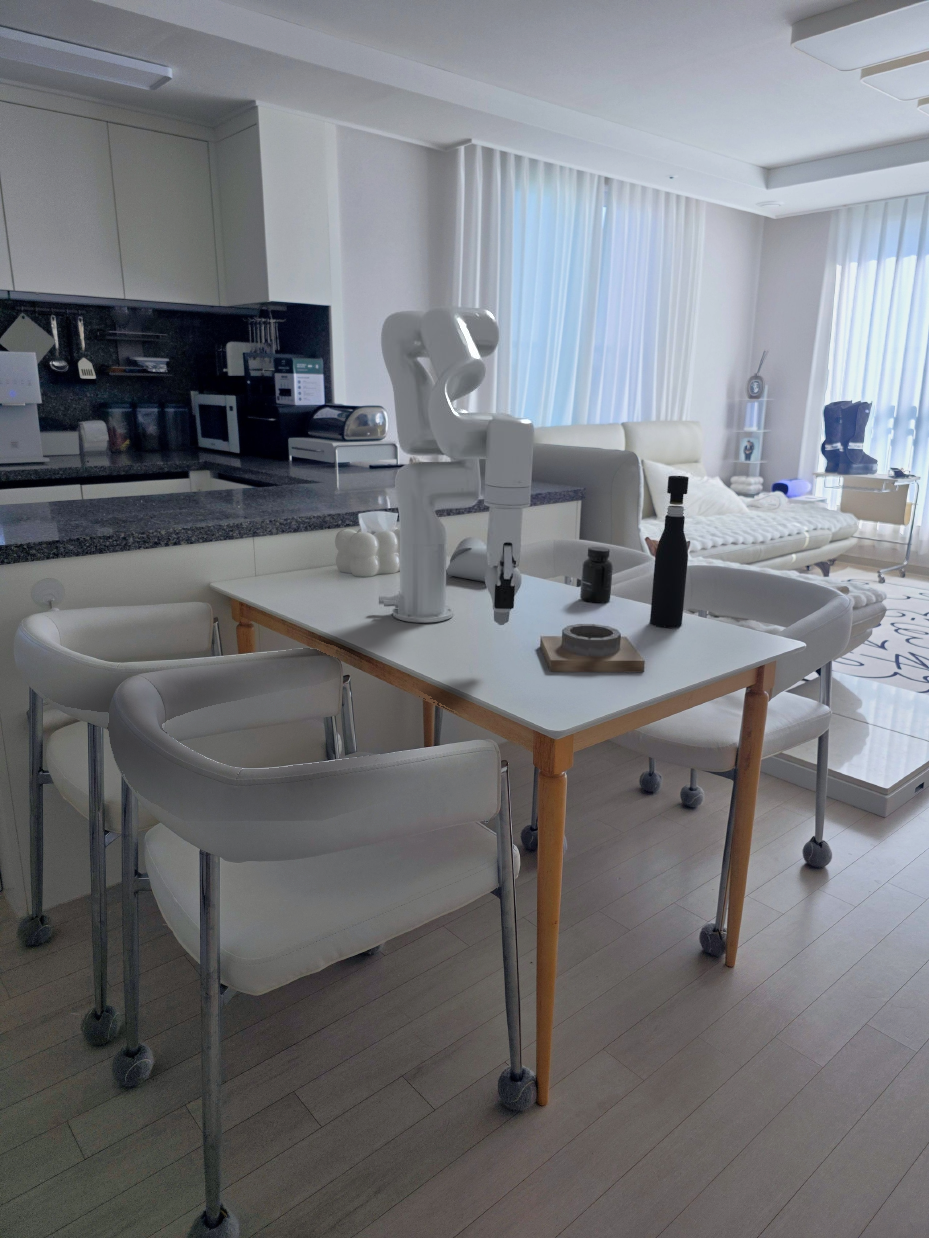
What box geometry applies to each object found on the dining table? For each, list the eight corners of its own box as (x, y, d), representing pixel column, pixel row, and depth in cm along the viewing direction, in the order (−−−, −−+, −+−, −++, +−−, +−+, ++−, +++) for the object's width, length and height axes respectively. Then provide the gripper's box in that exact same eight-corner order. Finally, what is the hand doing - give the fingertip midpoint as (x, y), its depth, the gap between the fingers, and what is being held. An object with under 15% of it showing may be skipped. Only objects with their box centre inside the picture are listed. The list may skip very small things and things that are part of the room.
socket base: (550, 671, 139) (551, 643, 138) (540, 646, 153) (541, 620, 152) (643, 671, 140) (646, 643, 139) (625, 646, 154) (627, 621, 152)
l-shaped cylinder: (422, 571, 208) (487, 583, 196) (428, 530, 207) (494, 539, 196) (461, 575, 222) (525, 586, 211) (467, 536, 221) (531, 545, 210)
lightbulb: (516, 632, 136) (519, 567, 133) (480, 628, 138) (482, 564, 134) (521, 621, 142) (524, 559, 139) (486, 618, 143) (489, 556, 140)
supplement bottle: (576, 602, 185) (579, 549, 182) (584, 595, 192) (587, 544, 188) (606, 605, 183) (610, 552, 180) (613, 598, 189) (616, 547, 186)
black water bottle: (675, 629, 165) (689, 479, 157) (645, 624, 168) (657, 476, 160) (685, 622, 170) (699, 476, 162) (655, 617, 174) (667, 474, 166)
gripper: (481, 487, 141) (477, 588, 147) (487, 504, 125) (482, 617, 130) (524, 488, 142) (519, 589, 147) (536, 505, 125) (530, 618, 131)
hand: (502, 601), depth 139 cm, fingers closed on lightbulb, 6 cm apart
